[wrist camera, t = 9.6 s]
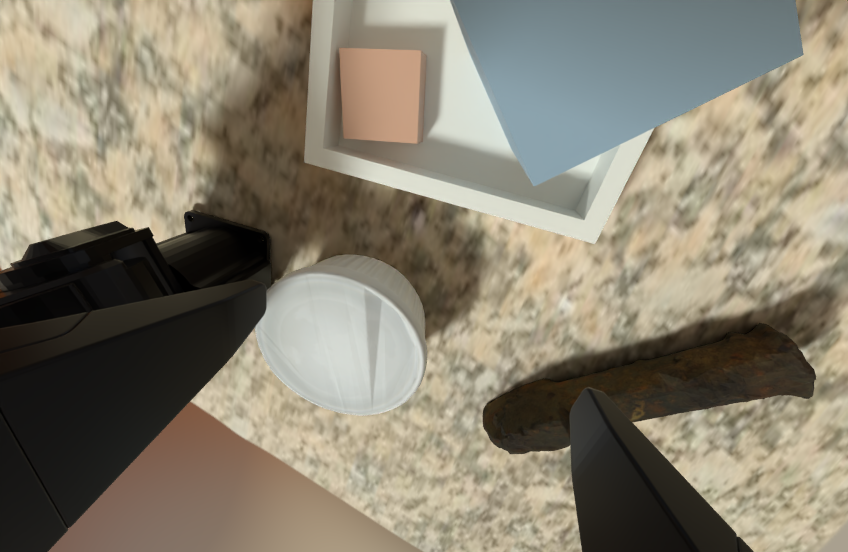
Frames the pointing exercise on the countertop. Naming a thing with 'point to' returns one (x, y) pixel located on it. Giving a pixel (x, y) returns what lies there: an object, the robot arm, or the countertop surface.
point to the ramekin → (346, 335)
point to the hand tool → (655, 388)
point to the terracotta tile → (383, 94)
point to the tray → (447, 126)
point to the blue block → (614, 66)
